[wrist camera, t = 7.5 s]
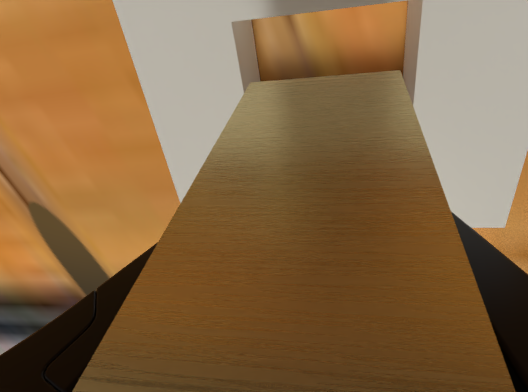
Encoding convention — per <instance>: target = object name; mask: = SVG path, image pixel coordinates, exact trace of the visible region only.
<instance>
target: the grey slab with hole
mask: <svg viewBox="0 0 528 392" xmlns="http://www.w3.org/2000/svg"><path fill="white" fill-rule="evenodd" d="M398 1H406V0H113V3H114V6H115V9H116V12H117V15H118V18H119V21H120V24H121V27H122V30H123V33H124V36H125V39H126V42H127V45H128V48H129V51H130V54H131V57H132V60H133V63H134V66H135V69H136V72H137V75H138V78H139V81H140V84H141V87H142V90H143V92H144V95H145V98H146V101H147V104H148V107H149V110H150V113H151V116H152V119H153V122H154V125H155V128H156V131H157V134H158V137H159V140H160V143H161V146H162V149H163V152H164V155H165V158H166V161H167V164H168V167H169V170H170V173H171V176H172V179H173V182H174V185H175V188H176V191H177V194H178V197H179V200H180V203H181V202H182V200H183V198H184V197H185V195H186V193H187V191H188V190H189V188H190V186H191V185H192V183H193V181H194V179H195V178H196V176H197V174H198V172H199V171H200V169H201V167H202V165H203V164H204V162H205V160H206V159H207V157H208V155H209V153H210V152H211V150H212V148H213V146H214V145H215V143H216V141H217V139H218V138H219V136H220V134H221V132H222V131H223V129H224V127H225V126H226V124H227V122H228V120H229V119H230V117H231V115H232V113H233V112H234V110H235V108H236V106H237V105H238V103H239V101H240V100H241V98H242V96H243V94H244V93H245V91H246V89H247V87H248V86H249V84H250V82H261V81H260V75H259V68H258V61H257V55H256V48H255V41H254V34H253V28H252V21H251V19H259V18H267V17H275V16H283V15H292V14H300V13H308V12H316V11H324V10H333V9H341V8H349V7H357V6H365V5H373V4H382V3H390V2H398ZM403 79H404V82H405V85H406V88H407V91H408V93H409V96H410V99H411V102H412V104H413V107H414V110H415V113H416V116H417V118H418V121H419V124H420V127H421V130H422V132H423V135H424V138H425V141H426V143H427V146H428V149H429V152H430V155H431V157H432V160H433V163H434V166H435V169H436V171H437V174H438V177H439V180H440V182H441V185H442V188H443V191H444V194H445V196H446V199H447V202H448V205H449V208H450V210H451V212H453V213H454V214H455V215H456V216H458V217H459V218H460V219H461V220H462V221H464V222H465V223H466V224H467V225H468V226H470V227H471V228H505V225H506V222H507V218H508V215H509V212H510V208H511V205H512V201H513V198H514V195H515V191H516V188H517V184H518V181H519V178H520V174H521V171H522V167H523V164H524V161H525V157H526V154H527V150H528V0H408V9H407V23H406V37H405V52H404V66H403Z"/></svg>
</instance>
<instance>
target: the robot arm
mask: <svg viewBox="0 0 528 392" xmlns="http://www.w3.org/2000/svg"><path fill="white" fill-rule="evenodd" d="M451 213H452V216H453V219H454V221H455V224H456V227H457V230H458V233H459V235H460V238H461V241H462V244H463V247H464V249H465V252H466V255H467V258H468V260H469V263H470V266H471V269H472V272H473V274H474V277H475V280H476V283H477V286H478V288H479V291H480V294H481V297H482V299H483V302H484V305H485V308H486V311H487V313H488V316H489V319H490V322H491V325H492V327H493V330H494V333H495V336H496V338H497V341H498V344H499V347H500V350H501V352H502V355H503V358H504V361H505V364H506V366H507V369H508V372H509V375H510V377H511V380H512V383H513V386H514V389H515V391H516V392H528V274H527V273H525V272H524V271H523V270H522V269H521V268H519V267H518V266H517V265H516V264H515V263H513V262H512V261H511V260H510V259H508V258H507V257H506V256H505V255H504V254H502V253H501V252H500V251H499V250H498V249H496V248H495V247H494V246H493V245H492V244H490V243H489V242H488V241H487V240H485V239H484V238H483V237H482V236H481V235H479V234H478V233H477V232H476V231H475V230H473V229H472V228H471V227H470V226H468V225H467V224H466V223H465V222H464V221H462V220H461V219H460V218H459V217H458V216H456V215H455V214H454V213H453V212H451ZM157 244H158V243H156V244H155V245H154V246H152V247H151V248H150V249H148V250H147V251H146V252H144V253H143V254H142V255H140V256H139V257H138V258H136V259H135V260H134V261H132V262H131V263H130V264H128V265H127V266H126V267H124V268H123V269H122V270H120V271H119V272H118V273H116V274H115V275H114V276H112V277H111V278H110V279H108V280H107V281H106V282H104V283H103V284H102V285H100V286H99V287H98V288H97V291H95V290H94V291H92V292H91V293H90V294H89V295H87V296H86V297H84V298H83V299H82V300H80V301H79V302H78V303H76V304H75V305H74V306H72V307H71V308H69V309H68V310H67V311H65V312H64V313H62V314H61V315H60V316H58V317H57V318H56V319H54V320H53V321H51V322H50V323H48V324H47V325H45V326H44V327H42V328H41V329H39V330H38V331H36V332H35V333H33V334H32V335H30V336H29V337H27V338H26V339H24V340H23V341H21V342H20V343H18V344H17V345H15V346H14V347H12V348H11V349H9V350H8V351H6V352H5V353H3V354H1V355H0V392H72V391H73V389H74V388H75V386H76V384H77V382H78V381H79V379H80V377H81V375H82V374H83V372H84V370H85V369H86V367H87V365H88V363H89V362H90V360H91V358H92V356H93V355H94V353H95V351H96V349H97V348H98V346H99V344H100V342H101V341H102V339H103V337H104V336H105V334H106V332H107V330H108V329H109V327H110V325H111V323H112V322H113V320H114V318H115V316H116V315H117V313H118V311H119V310H120V308H121V306H122V304H123V303H124V301H125V299H126V297H127V296H128V294H129V292H130V290H131V289H132V287H133V285H134V283H135V282H136V280H137V278H138V277H139V275H140V273H141V271H142V270H143V268H144V266H145V264H146V263H147V261H148V259H149V257H150V256H151V254H152V252H153V250H154V249H155V247H156V245H157Z"/></svg>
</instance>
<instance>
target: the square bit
mask: <svg viewBox="0 0 528 392" xmlns="http://www.w3.org/2000/svg"><path fill="white" fill-rule="evenodd" d="M72 392H516V391H515V389H514V386H513V383H512V380H511V377H510V375H509V372H508V369H507V366H506V364H505V361H504V358H503V355H502V352H501V350H500V347H499V344H498V341H497V338H496V336H495V333H494V330H493V327H492V325H491V322H490V319H489V316H488V313H487V311H486V308H485V305H484V302H483V299H482V297H481V294H480V291H479V288H478V286H477V283H476V280H475V277H474V274H473V272H472V269H471V266H470V263H469V260H468V258H467V255H466V252H465V249H464V247H463V244H462V241H461V238H460V235H459V233H458V230H457V227H456V224H455V221H454V219H453V216H452V213H451V210H450V208H449V205H448V202H447V199H446V196H445V194H444V191H443V188H442V185H441V182H440V180H439V177H438V174H437V171H436V169H435V166H434V163H433V160H432V157H431V155H430V152H429V149H428V146H427V143H426V141H425V138H424V135H423V132H422V130H421V127H420V124H419V121H418V118H417V116H416V113H415V110H414V107H413V104H412V102H411V99H410V96H409V93H408V91H407V88H406V85H405V82H404V79H403V77H402V74H401V71H400V70H396V71H383V72H371V73H359V74H347V75H335V76H323V77H311V78H299V79H286V80H274V81H262V82H250V84H249V86H248V87H247V89H246V91H245V93H244V94H243V96H242V98H241V100H240V101H239V103H238V105H237V106H236V108H235V110H234V112H233V113H232V115H231V117H230V119H229V120H228V122H227V124H226V126H225V127H224V129H223V131H222V132H221V134H220V136H219V138H218V139H217V141H216V143H215V145H214V146H213V148H212V150H211V152H210V153H209V155H208V157H207V159H206V160H205V162H204V164H203V165H202V167H201V169H200V171H199V172H198V174H197V176H196V178H195V179H194V181H193V183H192V185H191V186H190V188H189V190H188V191H187V193H186V195H185V197H184V198H183V200H182V202H181V204H180V205H179V207H178V209H177V211H176V212H175V214H174V216H173V218H172V219H171V221H170V223H169V224H168V226H167V228H166V230H165V231H164V233H163V235H162V237H161V238H160V240H159V242H158V244H157V245H156V247H155V249H154V250H153V252H152V254H151V256H150V257H149V259H148V261H147V263H146V264H145V266H144V268H143V270H142V271H141V273H140V275H139V277H138V278H137V280H136V282H135V283H134V285H133V287H132V289H131V290H130V292H129V294H128V296H127V297H126V299H125V301H124V303H123V304H122V306H121V308H120V310H119V311H118V313H117V315H116V316H115V318H114V320H113V322H112V323H111V325H110V327H109V329H108V330H107V332H106V334H105V336H104V337H103V339H102V341H101V342H100V344H99V346H98V348H97V349H96V351H95V353H94V355H93V356H92V358H91V360H90V362H89V363H88V365H87V367H86V369H85V370H84V372H83V374H82V375H81V377H80V379H79V381H78V382H77V384H76V386H75V388H74V389H73V391H72Z"/></svg>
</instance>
